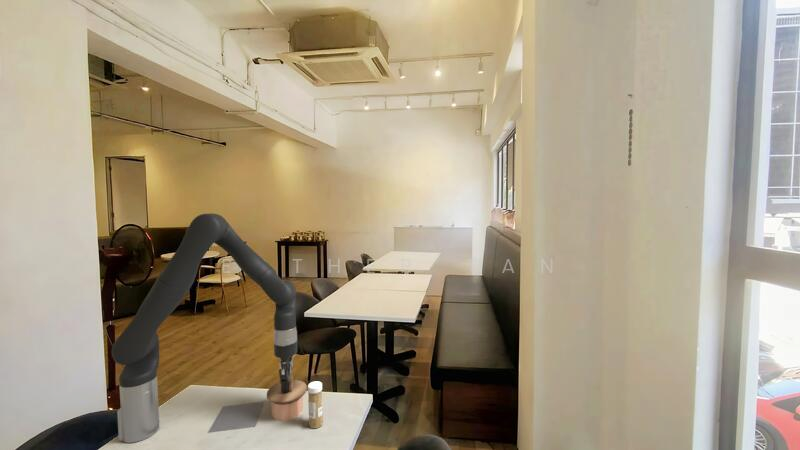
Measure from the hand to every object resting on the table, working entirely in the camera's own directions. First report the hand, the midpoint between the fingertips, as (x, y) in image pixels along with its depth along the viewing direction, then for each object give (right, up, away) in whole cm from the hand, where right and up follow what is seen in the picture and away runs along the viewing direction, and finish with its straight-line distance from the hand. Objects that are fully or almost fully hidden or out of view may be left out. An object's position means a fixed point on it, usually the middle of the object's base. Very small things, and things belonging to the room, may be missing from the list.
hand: (286, 389), depth 113 cm
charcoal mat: (-16, -9, -2) cm, 18 cm away
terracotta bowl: (0, -8, 0) cm, 8 cm away
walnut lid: (0, -1, 0) cm, 1 cm away
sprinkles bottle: (+12, -9, -6) cm, 16 cm away
